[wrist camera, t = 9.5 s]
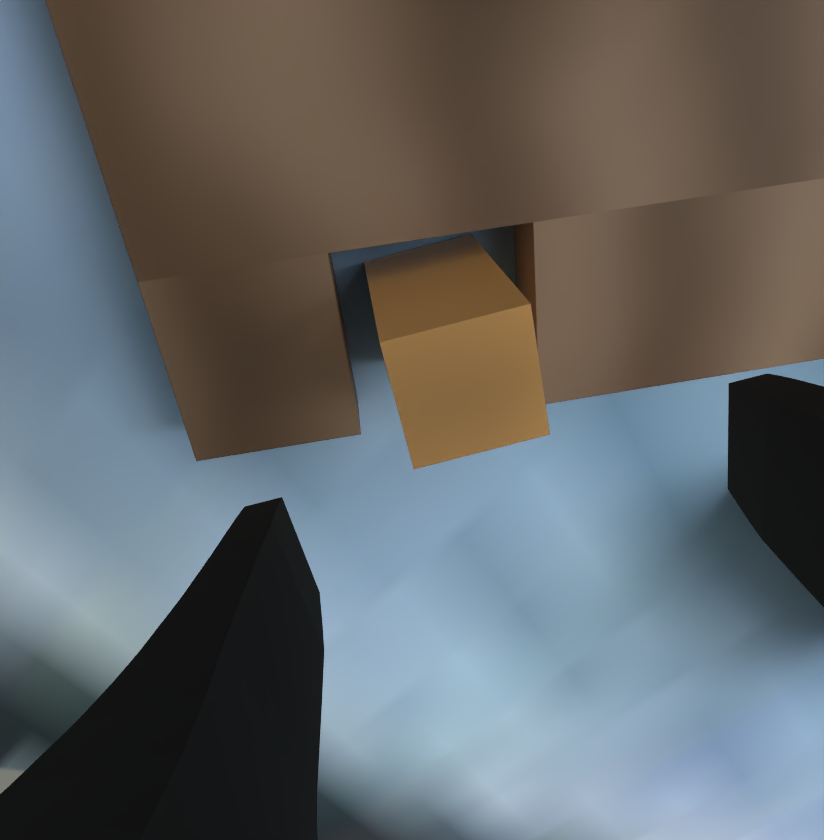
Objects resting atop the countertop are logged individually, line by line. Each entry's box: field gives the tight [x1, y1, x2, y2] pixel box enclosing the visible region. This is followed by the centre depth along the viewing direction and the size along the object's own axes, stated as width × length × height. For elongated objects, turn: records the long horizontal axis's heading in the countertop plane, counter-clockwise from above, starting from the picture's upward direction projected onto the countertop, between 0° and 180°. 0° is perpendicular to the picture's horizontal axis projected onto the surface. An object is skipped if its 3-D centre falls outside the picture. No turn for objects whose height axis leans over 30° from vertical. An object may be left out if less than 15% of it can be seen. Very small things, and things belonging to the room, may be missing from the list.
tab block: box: [364, 234, 550, 469], centre depth 16 cm, size 3×3×6 cm
